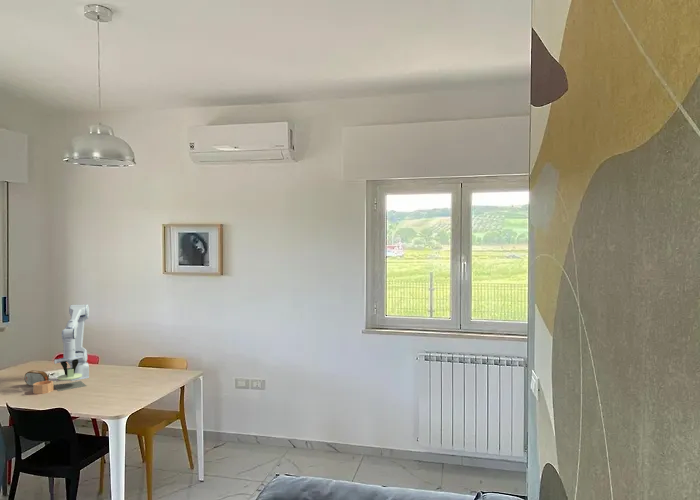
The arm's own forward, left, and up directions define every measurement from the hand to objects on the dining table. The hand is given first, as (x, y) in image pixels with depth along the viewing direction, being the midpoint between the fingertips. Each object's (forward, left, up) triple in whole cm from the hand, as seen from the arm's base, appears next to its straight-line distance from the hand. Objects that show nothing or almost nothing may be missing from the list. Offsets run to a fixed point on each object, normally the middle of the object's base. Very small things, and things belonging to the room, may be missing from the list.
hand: (69, 374), depth 268 cm
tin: (+14, -15, -7) cm, 21 cm away
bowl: (+13, +2, -7) cm, 15 cm away
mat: (0, 0, -7) cm, 7 cm away
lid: (0, 0, -2) cm, 2 cm away
